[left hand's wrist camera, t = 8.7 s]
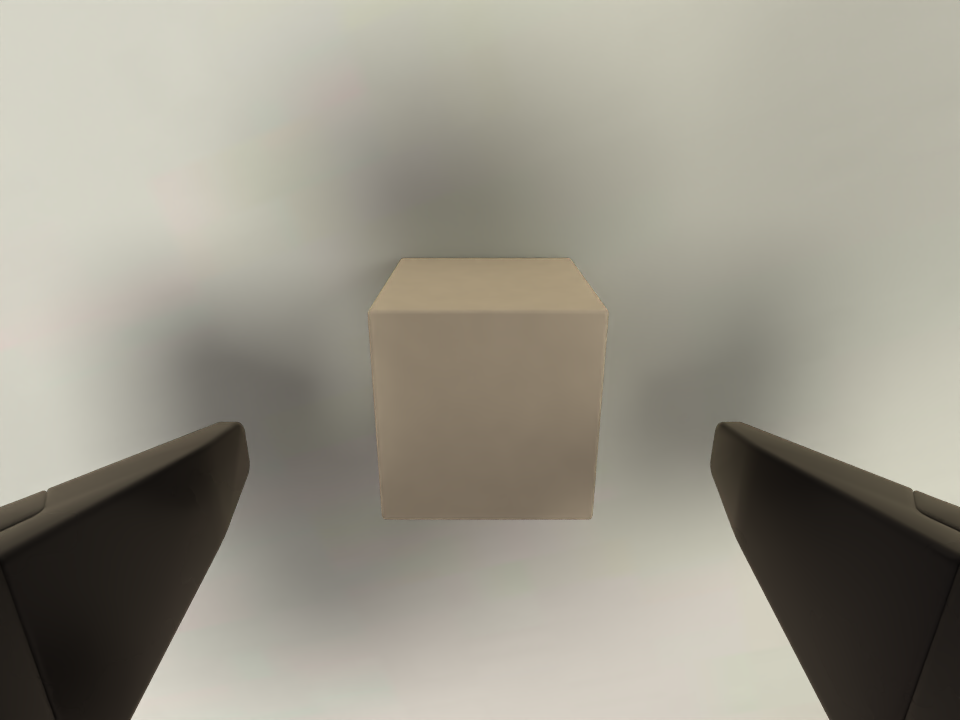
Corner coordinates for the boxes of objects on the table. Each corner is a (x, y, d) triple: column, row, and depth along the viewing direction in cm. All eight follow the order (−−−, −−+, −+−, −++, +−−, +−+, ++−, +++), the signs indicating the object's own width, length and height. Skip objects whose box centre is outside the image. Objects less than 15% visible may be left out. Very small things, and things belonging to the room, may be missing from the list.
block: (571, 257, 16) (609, 310, 11) (562, 416, 17) (592, 521, 13) (400, 257, 16) (366, 310, 11) (408, 416, 17) (381, 520, 13)
